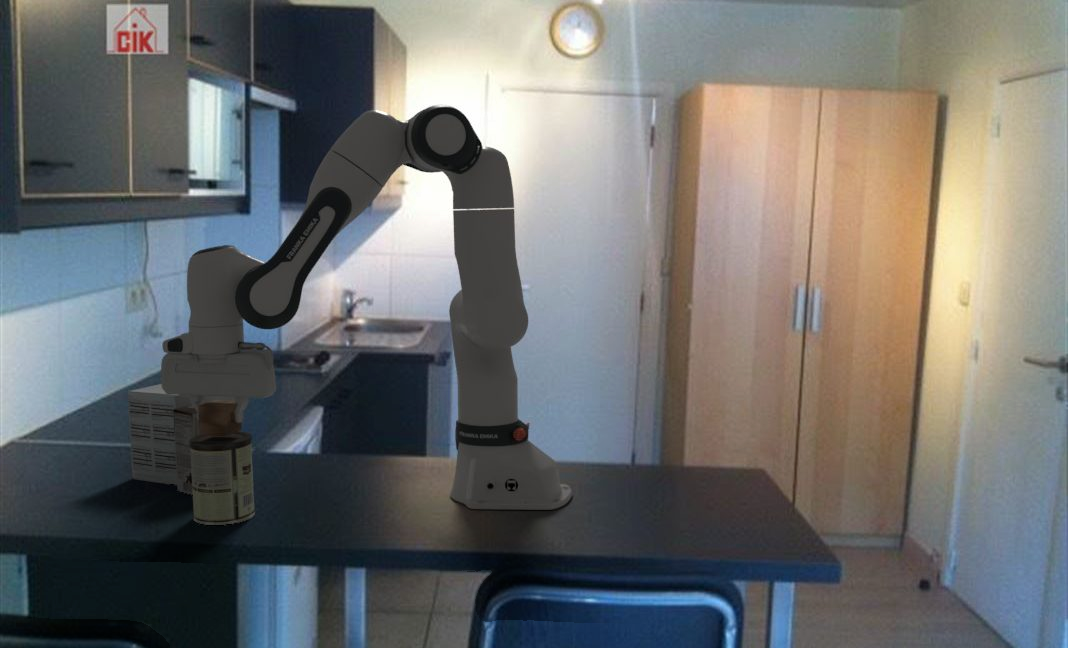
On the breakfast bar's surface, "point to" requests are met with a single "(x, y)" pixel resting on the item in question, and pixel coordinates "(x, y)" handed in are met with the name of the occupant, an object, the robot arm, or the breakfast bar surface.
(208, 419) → the walnut cube
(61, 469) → the breakfast bar surface
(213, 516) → the coffee can
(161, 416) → the supplement box
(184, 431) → the coffee box
